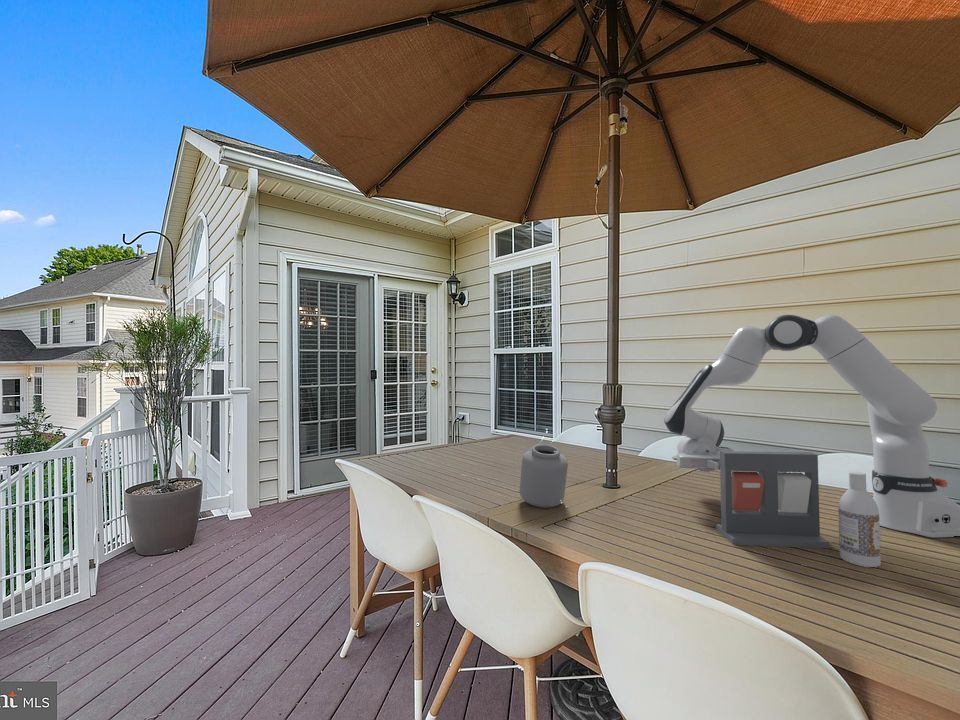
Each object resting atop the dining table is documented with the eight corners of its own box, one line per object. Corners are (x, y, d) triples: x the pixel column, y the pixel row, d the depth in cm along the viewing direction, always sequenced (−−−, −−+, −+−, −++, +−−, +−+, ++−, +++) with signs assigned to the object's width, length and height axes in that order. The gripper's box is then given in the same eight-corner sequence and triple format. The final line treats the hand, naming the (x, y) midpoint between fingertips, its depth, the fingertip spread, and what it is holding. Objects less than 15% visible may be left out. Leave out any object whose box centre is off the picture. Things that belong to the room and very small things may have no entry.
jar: (580, 510, 134) (579, 430, 135) (538, 516, 129) (537, 433, 130) (550, 494, 152) (549, 423, 152) (512, 499, 147) (511, 425, 147)
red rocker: (751, 501, 115) (756, 472, 112) (759, 511, 111) (765, 481, 108) (727, 500, 116) (732, 471, 113) (734, 510, 112) (739, 481, 109)
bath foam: (875, 571, 92) (872, 478, 93) (835, 559, 98) (832, 472, 99) (885, 563, 96) (882, 473, 97) (846, 552, 102) (843, 468, 103)
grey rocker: (797, 504, 113) (801, 472, 111) (806, 512, 109) (811, 480, 107) (772, 503, 114) (776, 472, 112) (781, 511, 110) (785, 479, 108)
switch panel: (804, 532, 114) (802, 449, 115) (829, 548, 105) (826, 457, 105) (716, 529, 117) (714, 448, 118) (732, 544, 107) (730, 456, 108)
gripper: (670, 446, 141) (684, 455, 127) (736, 447, 138) (758, 456, 125) (670, 466, 141) (684, 476, 127) (737, 467, 138) (759, 478, 125)
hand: (722, 466), depth 126 cm, fingers closed
